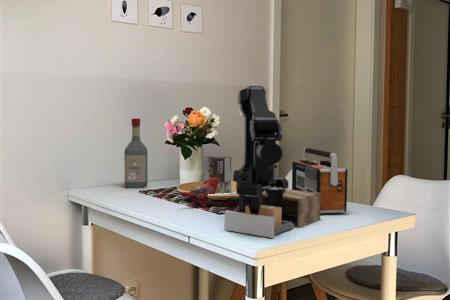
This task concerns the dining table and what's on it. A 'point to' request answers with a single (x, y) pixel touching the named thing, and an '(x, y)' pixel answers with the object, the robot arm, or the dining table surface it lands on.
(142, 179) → the liquor
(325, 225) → the dining table surface
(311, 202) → the box
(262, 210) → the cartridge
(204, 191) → the decorative bird figurine
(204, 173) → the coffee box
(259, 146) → the robot arm
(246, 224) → the tray
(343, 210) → the radio cassette player
